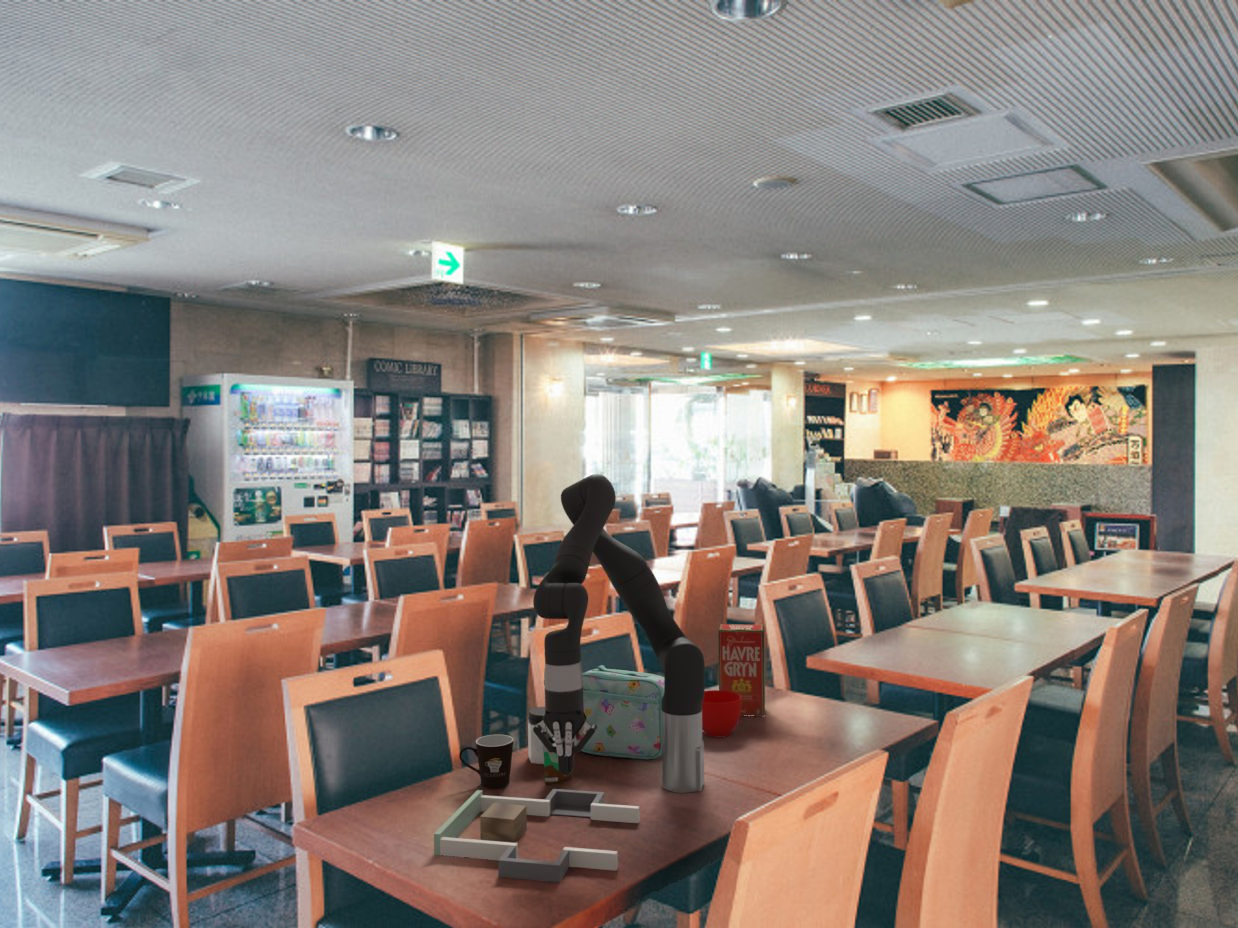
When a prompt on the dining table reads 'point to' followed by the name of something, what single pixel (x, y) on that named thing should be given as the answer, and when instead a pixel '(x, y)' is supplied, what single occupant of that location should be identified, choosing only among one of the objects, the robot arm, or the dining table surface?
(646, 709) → the lunch box
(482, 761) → the coffee mug
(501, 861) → the track
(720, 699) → the ceramic cup
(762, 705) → the food packaging
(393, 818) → the dining table surface
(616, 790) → the dining table surface
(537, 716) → the jar
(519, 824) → the walnut block
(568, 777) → the food container
